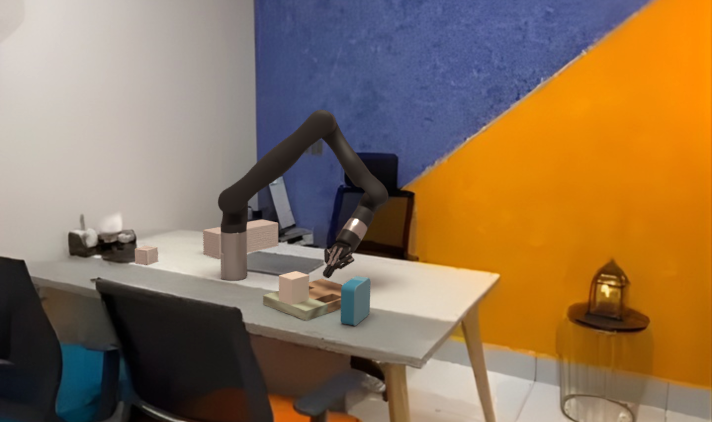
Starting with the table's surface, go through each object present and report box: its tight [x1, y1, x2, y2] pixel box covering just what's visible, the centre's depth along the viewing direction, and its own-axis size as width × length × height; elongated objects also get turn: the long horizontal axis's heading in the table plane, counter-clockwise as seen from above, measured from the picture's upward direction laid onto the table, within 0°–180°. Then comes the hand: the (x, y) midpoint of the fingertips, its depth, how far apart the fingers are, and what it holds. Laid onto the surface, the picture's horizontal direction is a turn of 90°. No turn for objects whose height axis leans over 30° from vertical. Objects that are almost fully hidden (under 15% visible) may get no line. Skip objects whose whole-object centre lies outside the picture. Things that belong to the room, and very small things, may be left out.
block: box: [278, 270, 310, 305], centre depth 182 cm, size 7×6×8 cm
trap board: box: [262, 278, 343, 321], centre depth 190 cm, size 26×20×3 cm
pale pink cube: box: [134, 245, 159, 266], centre depth 231 cm, size 6×6×6 cm
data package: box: [340, 275, 372, 327], centre depth 175 cm, size 12×4×12 cm, turn 157°
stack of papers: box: [202, 219, 279, 260], centre depth 253 cm, size 32×11×11 cm, turn 140°
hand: (325, 276), depth 192 cm, fingers closed
